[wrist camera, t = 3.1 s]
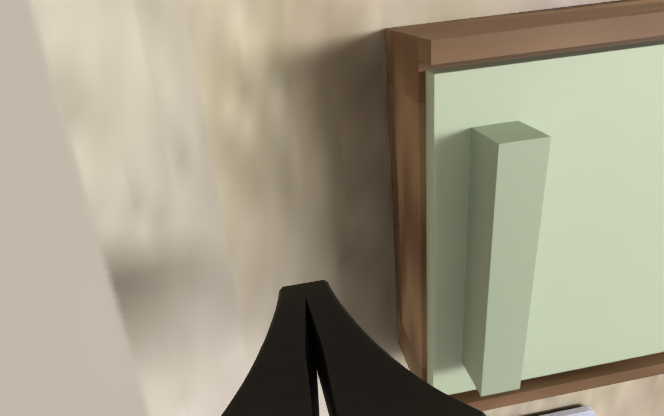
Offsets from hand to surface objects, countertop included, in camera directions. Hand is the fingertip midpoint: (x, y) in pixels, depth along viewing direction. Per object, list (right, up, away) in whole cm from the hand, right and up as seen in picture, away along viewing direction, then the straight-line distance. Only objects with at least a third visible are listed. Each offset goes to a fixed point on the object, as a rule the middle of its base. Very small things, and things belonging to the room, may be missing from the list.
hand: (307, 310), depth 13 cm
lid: (+10, +2, +3) cm, 10 cm away
